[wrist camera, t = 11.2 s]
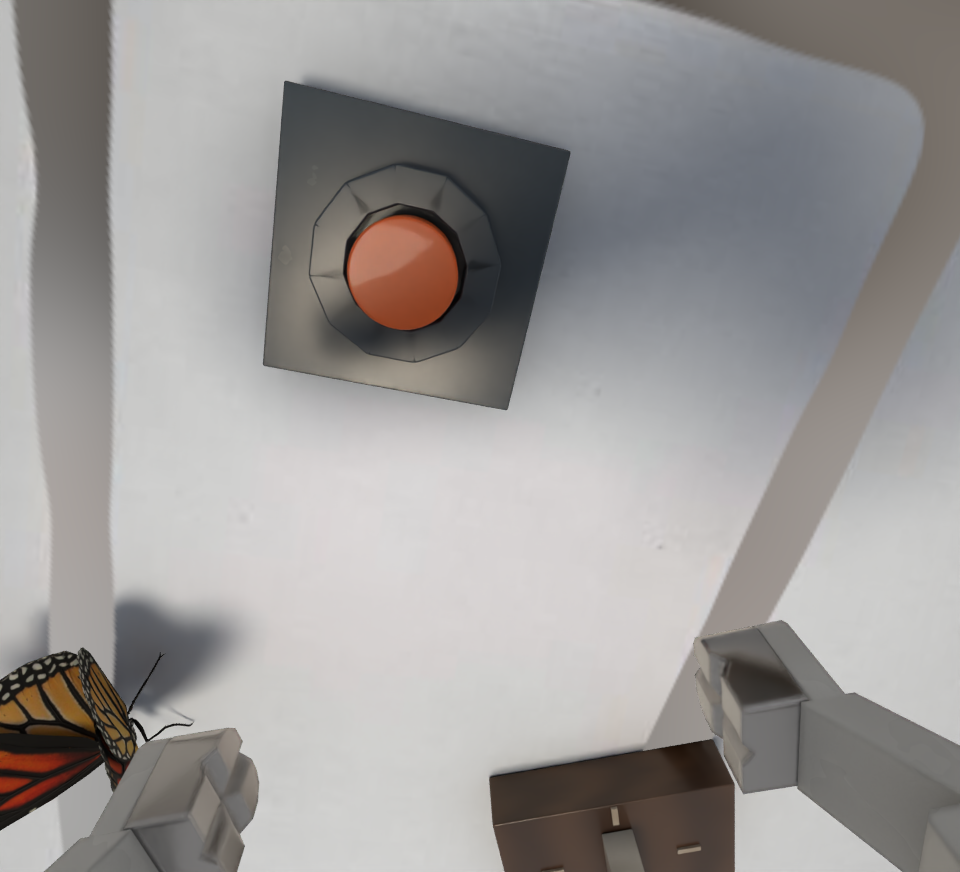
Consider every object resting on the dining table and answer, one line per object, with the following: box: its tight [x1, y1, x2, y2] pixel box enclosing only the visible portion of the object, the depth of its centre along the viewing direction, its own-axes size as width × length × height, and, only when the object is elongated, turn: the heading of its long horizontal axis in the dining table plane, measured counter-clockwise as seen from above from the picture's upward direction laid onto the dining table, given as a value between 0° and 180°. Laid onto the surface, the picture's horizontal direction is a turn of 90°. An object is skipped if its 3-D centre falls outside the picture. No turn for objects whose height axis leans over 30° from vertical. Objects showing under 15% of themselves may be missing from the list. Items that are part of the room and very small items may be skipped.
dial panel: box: [489, 739, 735, 872], centre depth 36 cm, size 14×10×3 cm
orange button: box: [347, 215, 458, 330], centre depth 20 cm, size 4×4×2 cm
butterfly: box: [0, 648, 193, 830], centre depth 27 cm, size 12×10×10 cm
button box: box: [263, 81, 570, 410], centre depth 22 cm, size 10×10×4 cm
